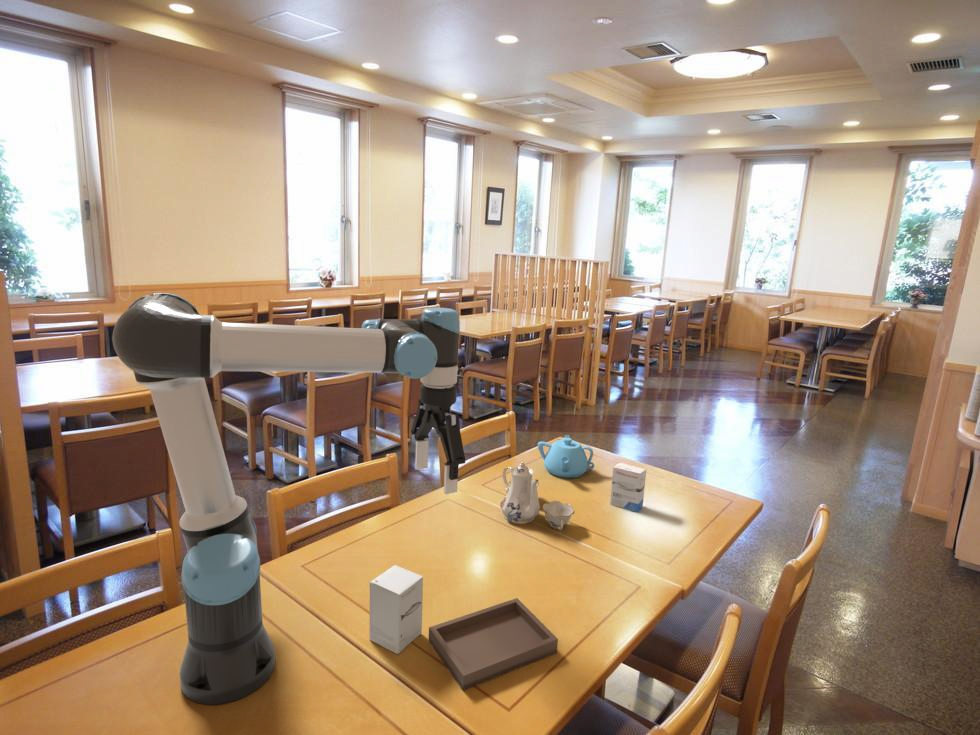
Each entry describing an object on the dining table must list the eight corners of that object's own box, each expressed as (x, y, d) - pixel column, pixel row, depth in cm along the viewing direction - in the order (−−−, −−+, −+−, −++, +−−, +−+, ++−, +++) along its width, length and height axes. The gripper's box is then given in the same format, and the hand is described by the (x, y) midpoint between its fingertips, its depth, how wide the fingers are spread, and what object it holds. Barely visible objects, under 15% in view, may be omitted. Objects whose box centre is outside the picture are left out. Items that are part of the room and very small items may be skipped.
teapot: (529, 468, 195) (531, 436, 192) (565, 457, 206) (567, 427, 203) (563, 485, 184) (566, 451, 181) (599, 472, 194) (602, 440, 192)
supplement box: (398, 655, 108) (398, 595, 106) (368, 640, 112) (367, 581, 109) (423, 633, 115) (424, 576, 112) (394, 619, 118) (394, 563, 115)
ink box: (643, 506, 172) (647, 468, 169) (637, 512, 168) (641, 474, 165) (615, 498, 176) (619, 461, 173) (609, 504, 172) (612, 466, 169)
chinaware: (583, 535, 157) (593, 476, 155) (535, 545, 148) (544, 483, 145) (520, 494, 180) (527, 442, 177) (474, 501, 170) (481, 446, 167)
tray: (462, 690, 101) (463, 675, 100) (428, 641, 113) (428, 627, 112) (556, 652, 111) (557, 638, 110) (516, 610, 123) (517, 597, 122)
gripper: (486, 397, 113) (480, 500, 117) (428, 368, 133) (425, 456, 138) (451, 402, 109) (447, 507, 114) (397, 371, 129) (395, 462, 134)
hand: (435, 480), depth 126 cm, fingers open, 13 cm apart
